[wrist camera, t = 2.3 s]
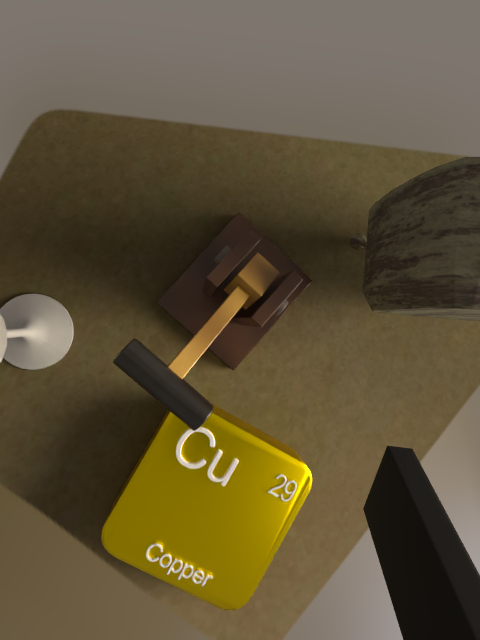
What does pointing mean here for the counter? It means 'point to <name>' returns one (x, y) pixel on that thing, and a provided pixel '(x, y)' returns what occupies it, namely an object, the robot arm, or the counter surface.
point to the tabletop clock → (426, 245)
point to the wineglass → (34, 331)
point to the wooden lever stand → (208, 294)
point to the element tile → (208, 507)
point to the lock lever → (194, 348)
